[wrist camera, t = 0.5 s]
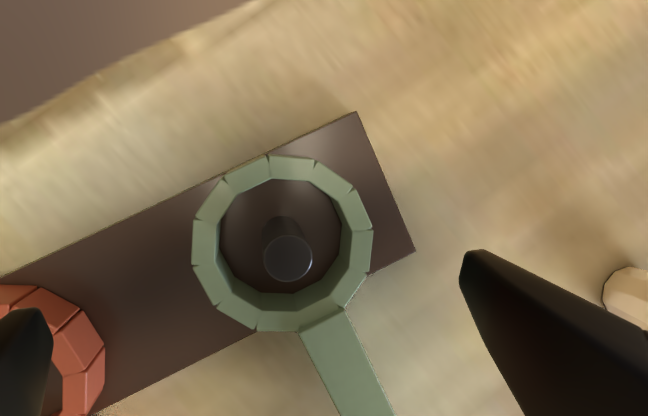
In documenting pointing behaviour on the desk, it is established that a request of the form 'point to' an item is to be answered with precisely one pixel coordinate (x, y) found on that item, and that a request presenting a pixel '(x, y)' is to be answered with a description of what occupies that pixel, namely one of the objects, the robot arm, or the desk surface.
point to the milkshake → (628, 295)
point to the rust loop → (65, 345)
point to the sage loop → (309, 303)
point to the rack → (236, 247)
